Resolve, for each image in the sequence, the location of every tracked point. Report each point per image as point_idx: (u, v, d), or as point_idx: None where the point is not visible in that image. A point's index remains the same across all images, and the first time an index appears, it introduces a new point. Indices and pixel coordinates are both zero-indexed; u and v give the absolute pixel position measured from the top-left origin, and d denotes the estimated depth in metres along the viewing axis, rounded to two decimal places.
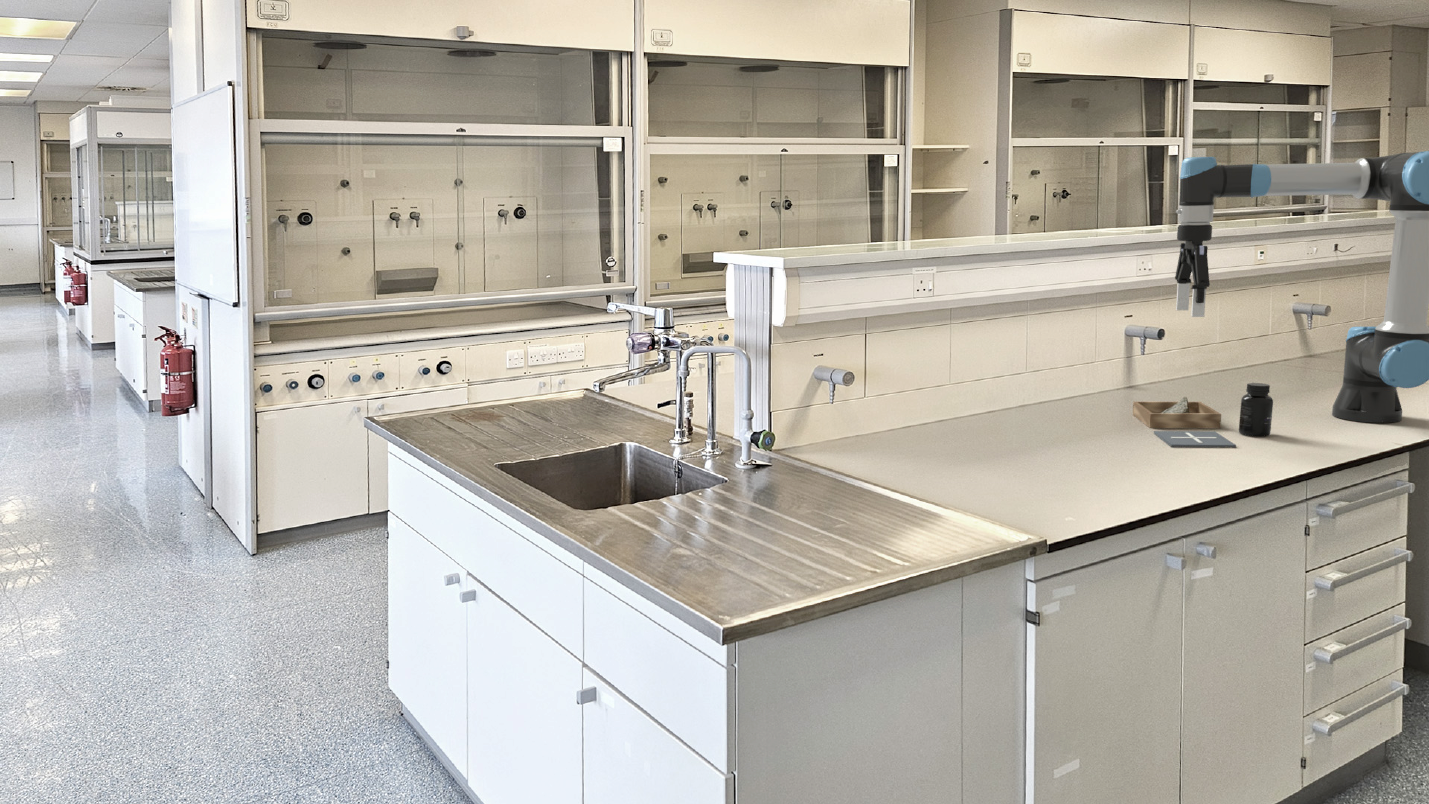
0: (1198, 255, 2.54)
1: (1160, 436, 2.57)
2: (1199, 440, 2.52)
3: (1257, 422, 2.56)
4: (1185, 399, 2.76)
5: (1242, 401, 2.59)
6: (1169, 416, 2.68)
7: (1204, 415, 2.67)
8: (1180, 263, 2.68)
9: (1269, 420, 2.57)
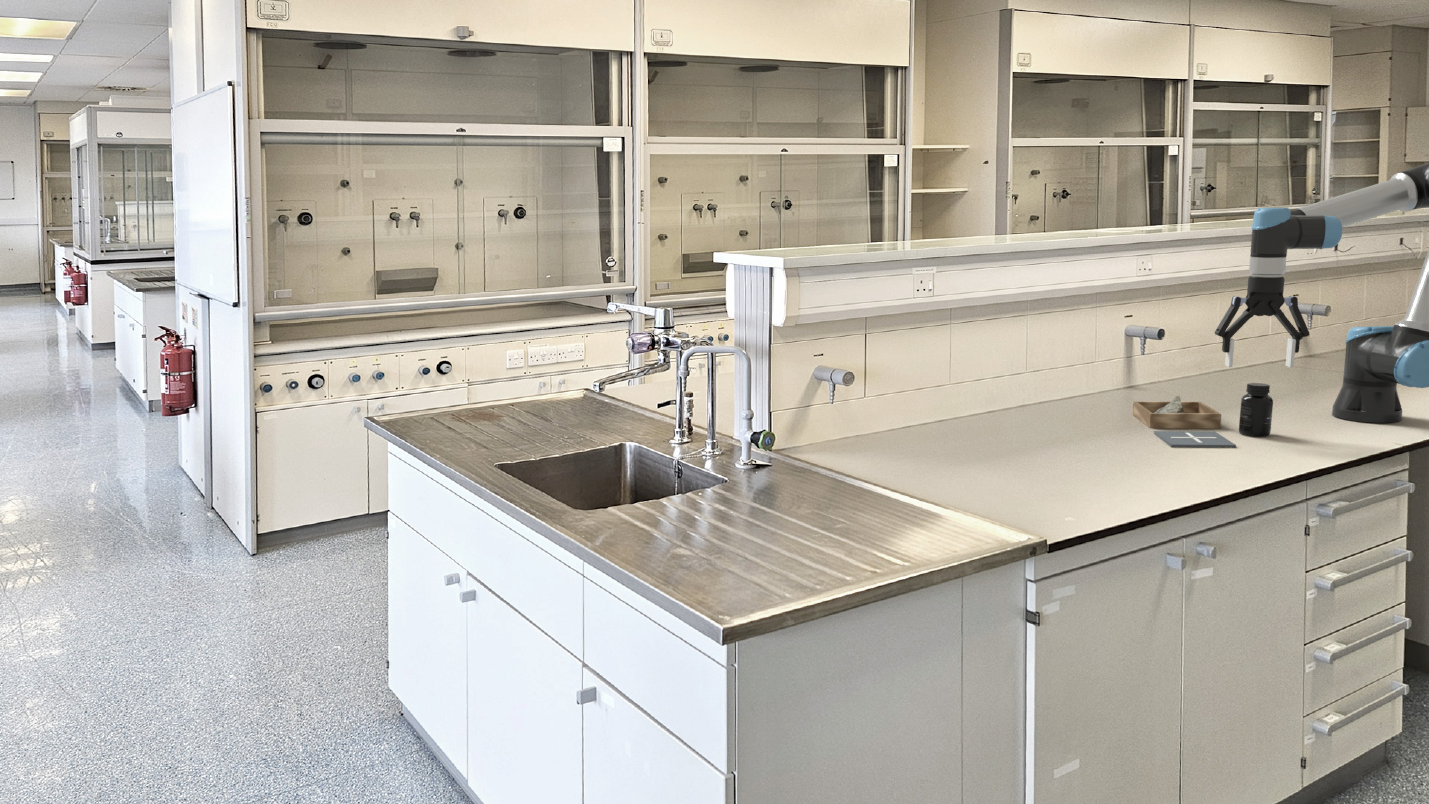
0: (1231, 305, 2.56)
1: (1160, 436, 2.57)
2: (1199, 440, 2.52)
3: (1257, 422, 2.56)
4: (1178, 398, 2.77)
5: (1242, 401, 2.59)
6: (1169, 416, 2.68)
7: (1204, 415, 2.67)
8: (1293, 317, 2.55)
9: (1269, 420, 2.57)
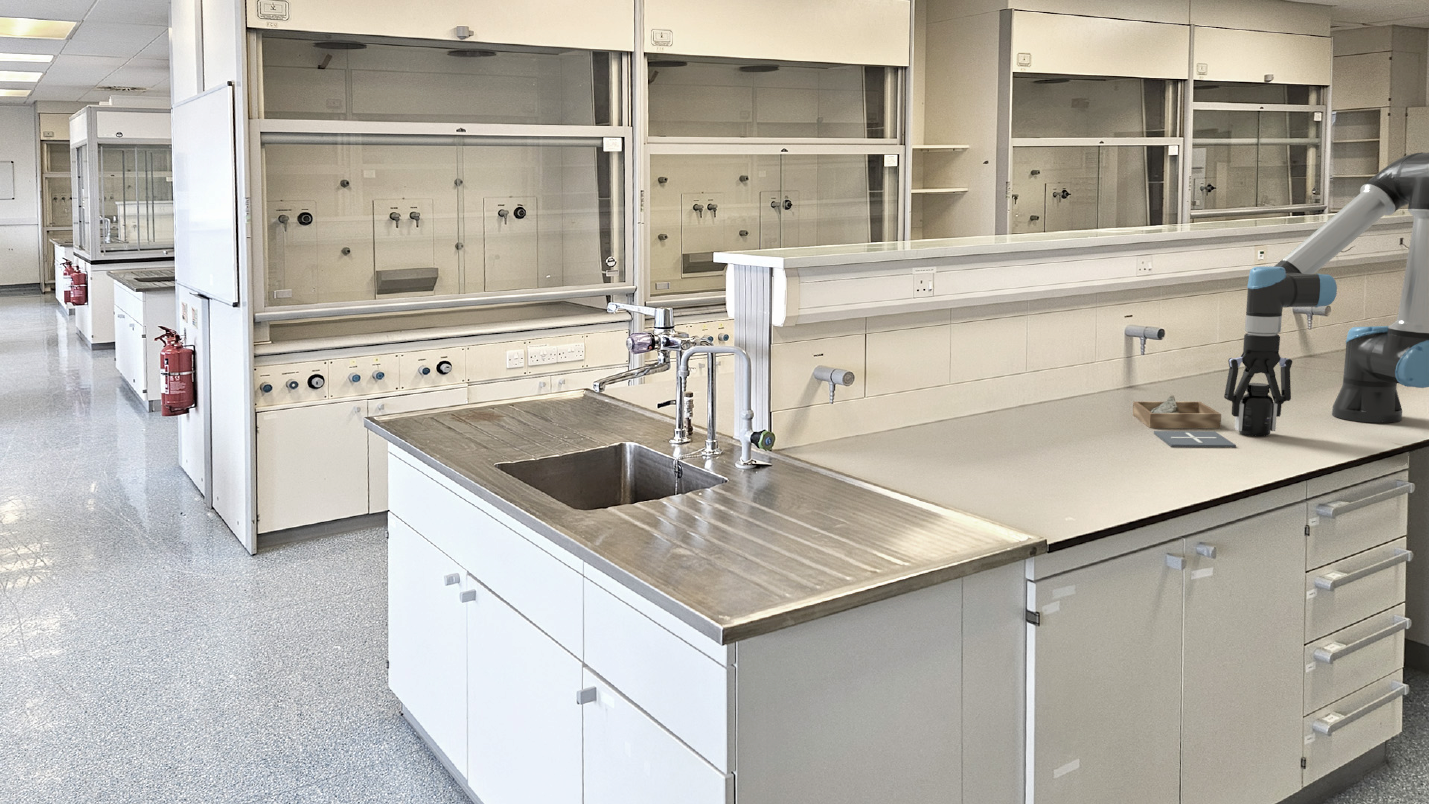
0: (1230, 368, 2.59)
1: (1160, 436, 2.57)
2: (1199, 440, 2.52)
3: (1257, 422, 2.56)
4: (1172, 398, 2.78)
5: (1242, 401, 2.59)
6: (1169, 416, 2.68)
7: (1204, 415, 2.67)
8: (1281, 379, 2.58)
9: (1269, 420, 2.57)
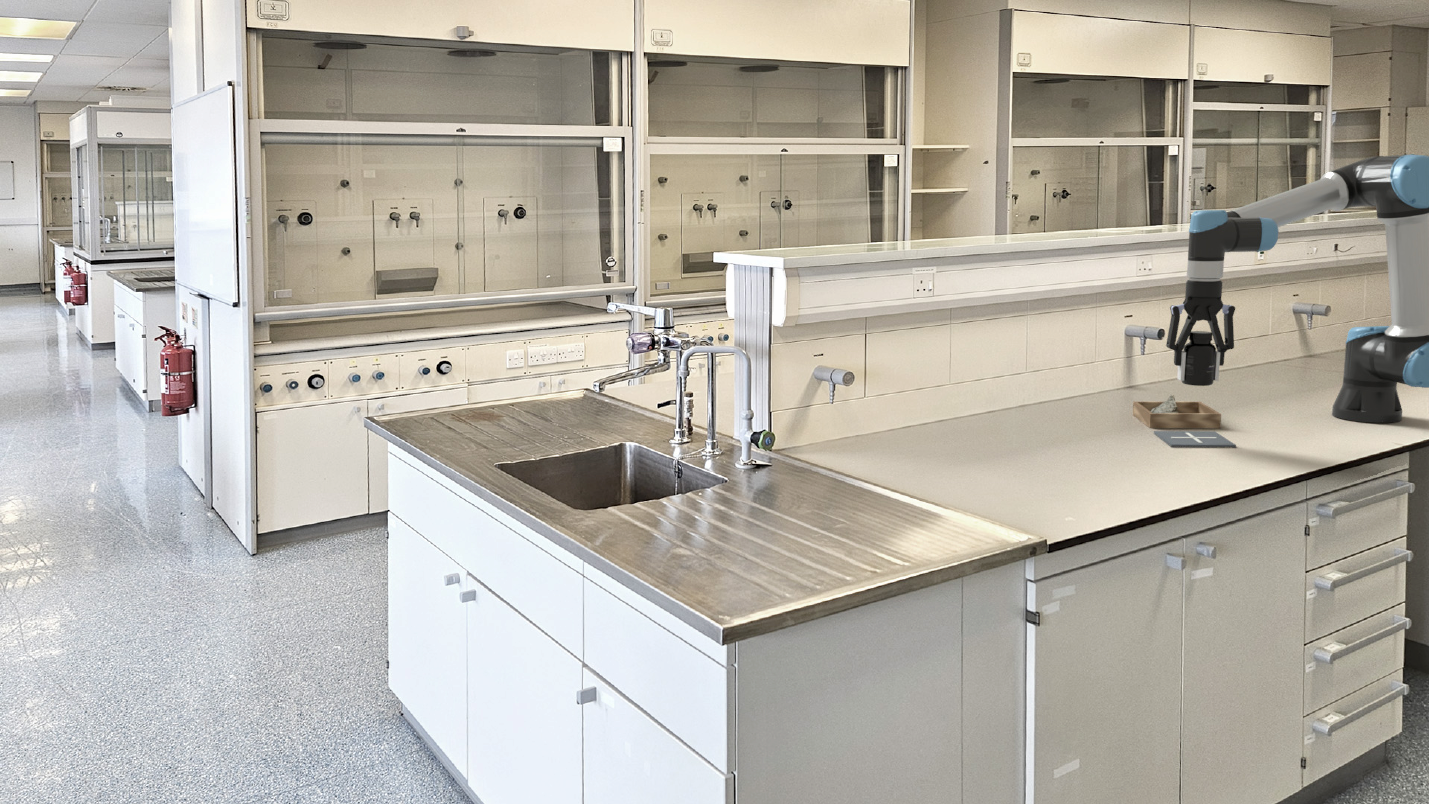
0: (1171, 315, 2.51)
1: (1160, 436, 2.57)
2: (1199, 440, 2.52)
3: (1199, 371, 2.49)
4: (1172, 398, 2.78)
5: (1184, 349, 2.51)
6: (1169, 416, 2.68)
7: (1204, 415, 2.67)
8: (1224, 326, 2.50)
9: (1212, 369, 2.49)
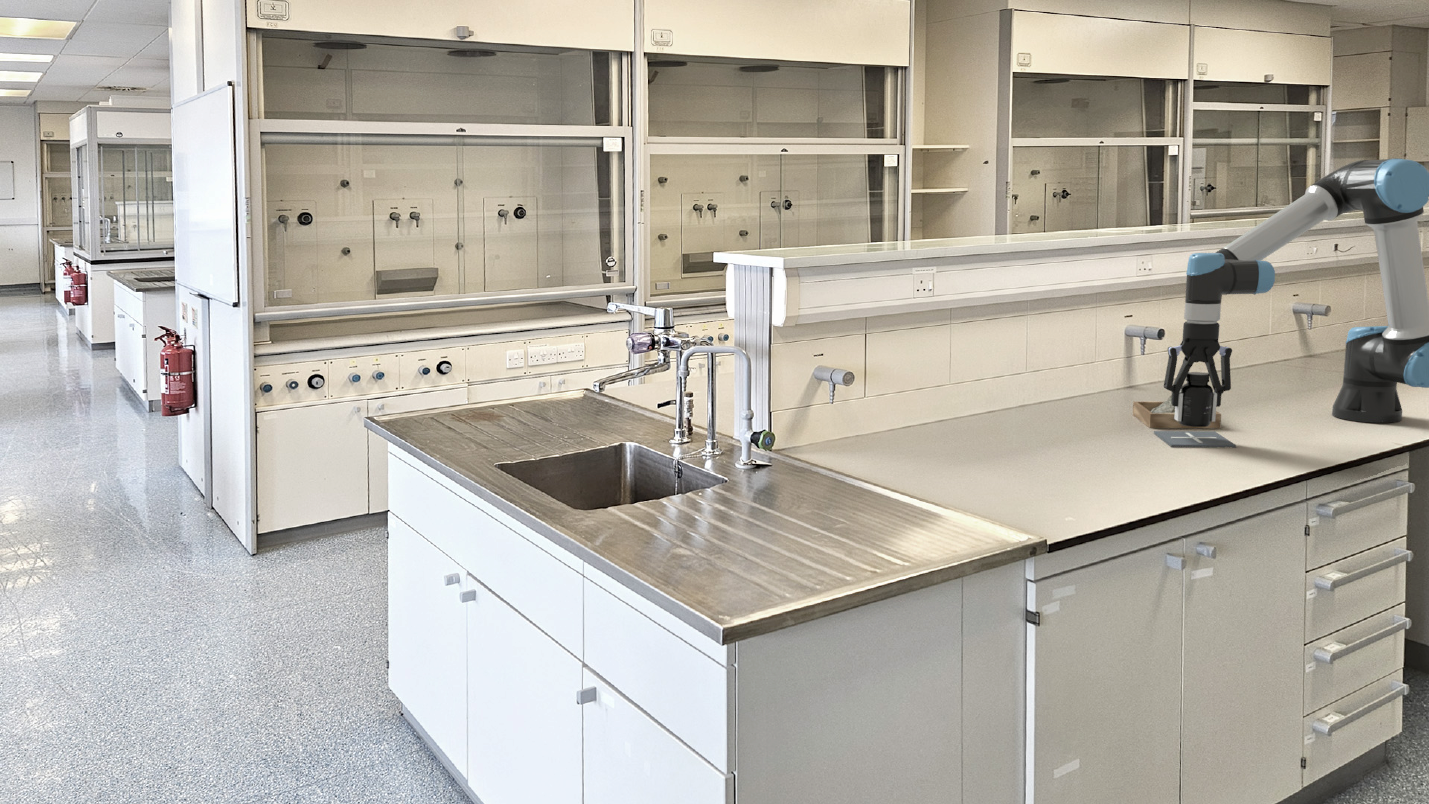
0: (1169, 356, 2.53)
1: (1160, 436, 2.57)
2: (1199, 440, 2.52)
3: (1196, 412, 2.51)
4: None
5: (1181, 390, 2.53)
6: (1169, 416, 2.68)
7: None
8: (1221, 368, 2.52)
9: (1208, 410, 2.51)
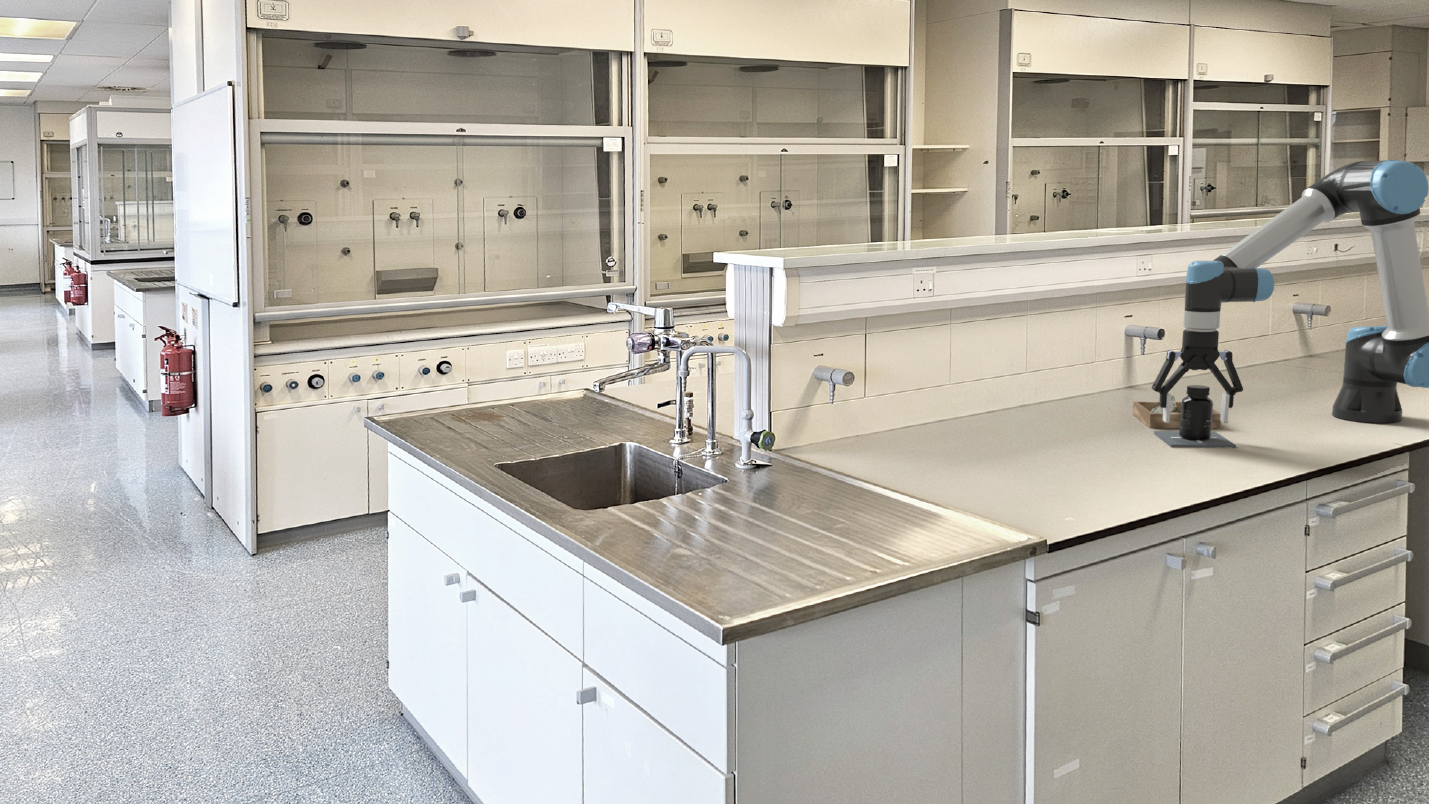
0: (1166, 359, 2.53)
1: (1160, 436, 2.57)
2: (1199, 440, 2.52)
3: (1196, 425, 2.51)
4: (1172, 398, 2.78)
5: (1182, 404, 2.54)
6: None
7: None
8: None
9: (1209, 423, 2.51)
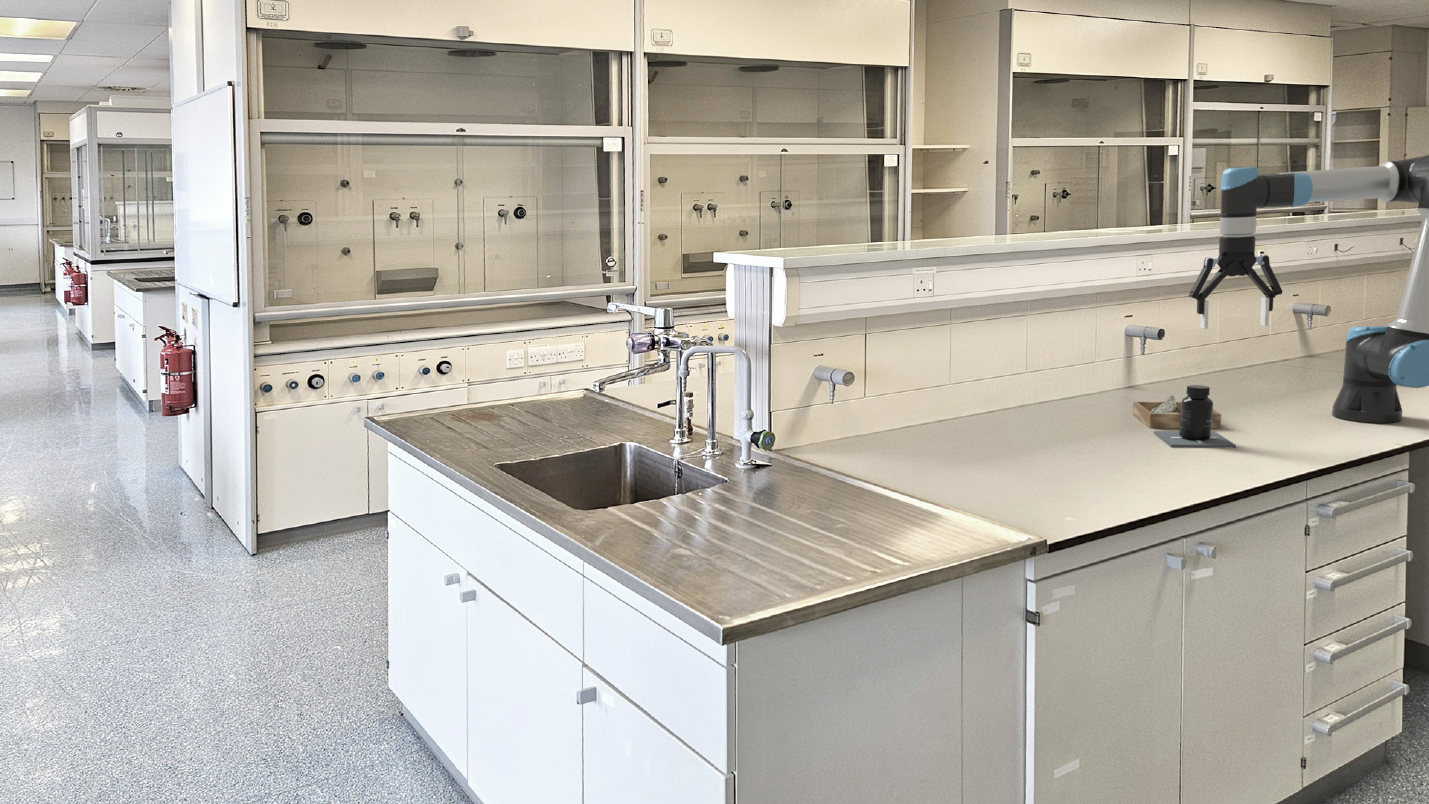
0: (1203, 267, 2.57)
1: (1160, 436, 2.57)
2: (1199, 440, 2.52)
3: (1196, 425, 2.51)
4: (1172, 398, 2.78)
5: (1182, 404, 2.54)
6: (1169, 416, 2.68)
7: None
8: (1265, 276, 2.56)
9: (1209, 423, 2.51)
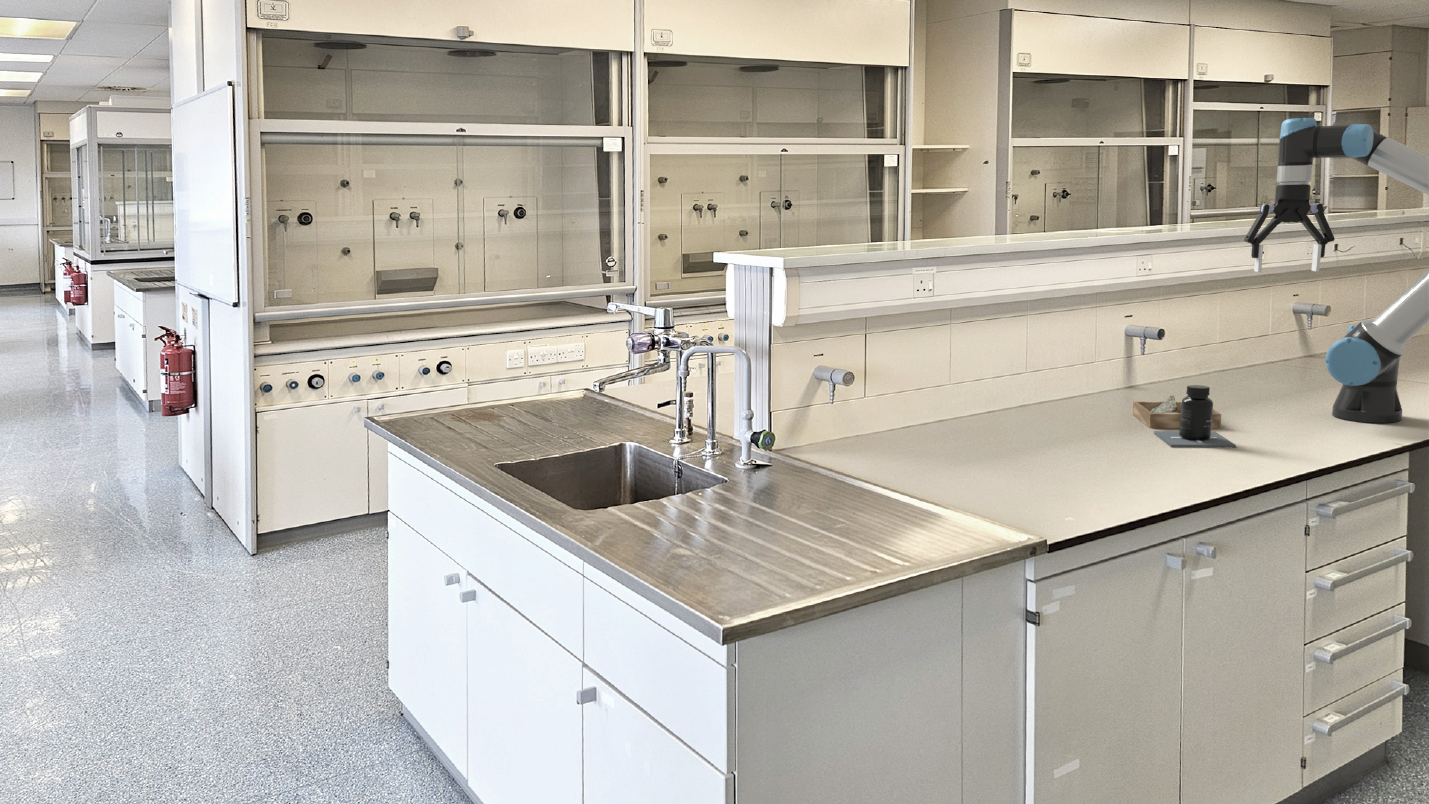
0: (1259, 213, 2.70)
1: (1160, 436, 2.57)
2: (1199, 440, 2.52)
3: (1196, 425, 2.51)
4: (1172, 398, 2.78)
5: (1182, 404, 2.54)
6: (1169, 416, 2.68)
7: None
8: (1318, 223, 2.69)
9: (1209, 423, 2.51)
